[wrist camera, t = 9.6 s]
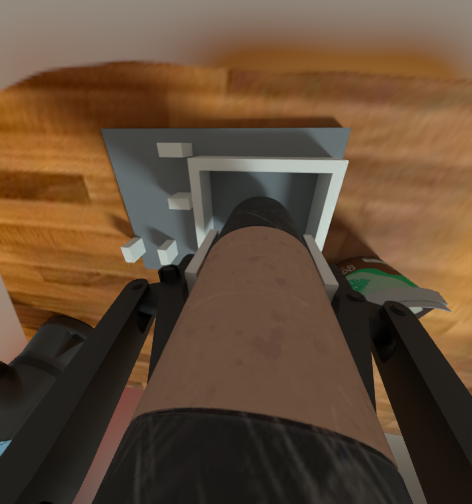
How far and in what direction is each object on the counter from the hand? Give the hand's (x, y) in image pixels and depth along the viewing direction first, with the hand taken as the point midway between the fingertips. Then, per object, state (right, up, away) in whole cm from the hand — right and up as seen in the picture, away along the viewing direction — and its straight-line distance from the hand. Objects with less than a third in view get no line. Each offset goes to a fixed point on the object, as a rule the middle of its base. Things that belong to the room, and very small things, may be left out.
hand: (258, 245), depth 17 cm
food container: (+14, -4, +11) cm, 18 cm away
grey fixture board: (-4, +5, +8) cm, 10 cm away
